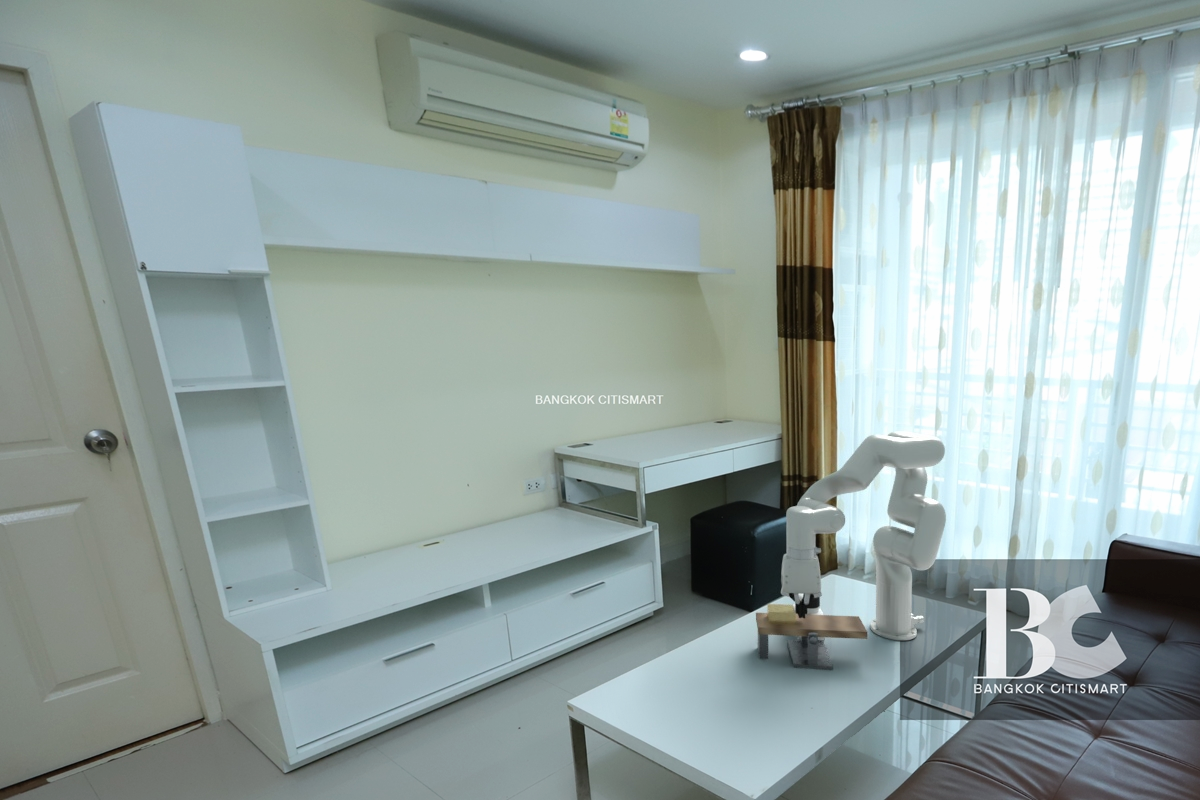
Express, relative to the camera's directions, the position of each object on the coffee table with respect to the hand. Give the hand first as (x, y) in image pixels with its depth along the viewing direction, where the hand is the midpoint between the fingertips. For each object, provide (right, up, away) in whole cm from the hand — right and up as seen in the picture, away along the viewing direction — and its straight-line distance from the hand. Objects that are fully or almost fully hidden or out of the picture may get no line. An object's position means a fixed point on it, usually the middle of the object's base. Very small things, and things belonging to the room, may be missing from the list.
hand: (801, 615), depth 165 cm
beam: (+2, -4, 0) cm, 4 cm away
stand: (-2, -11, +1) cm, 12 cm away
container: (+6, -10, +13) cm, 18 cm away
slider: (-5, -2, +1) cm, 6 cm away
